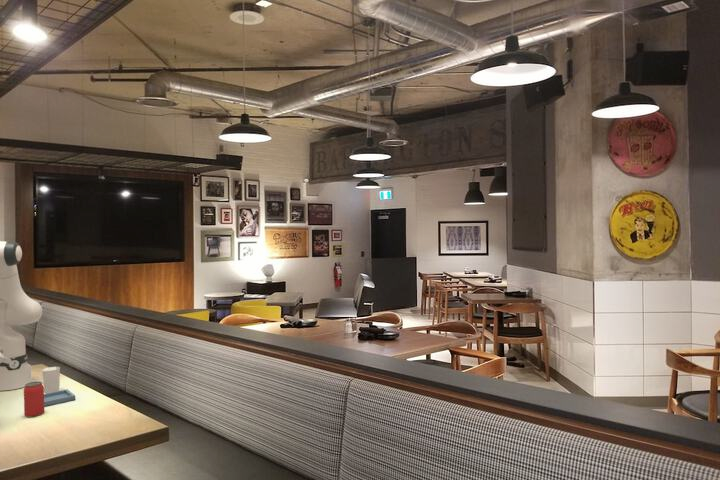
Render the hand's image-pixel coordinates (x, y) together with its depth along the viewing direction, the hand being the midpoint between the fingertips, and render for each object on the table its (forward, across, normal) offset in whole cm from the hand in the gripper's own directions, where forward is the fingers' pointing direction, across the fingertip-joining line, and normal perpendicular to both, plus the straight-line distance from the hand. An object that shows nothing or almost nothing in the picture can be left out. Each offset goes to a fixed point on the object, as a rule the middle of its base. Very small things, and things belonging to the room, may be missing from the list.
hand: (6, 356), depth 196 cm
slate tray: (+29, +2, +9) cm, 31 cm away
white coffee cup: (+34, +17, +10) cm, 40 cm away
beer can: (+19, -9, +14) cm, 25 cm away
